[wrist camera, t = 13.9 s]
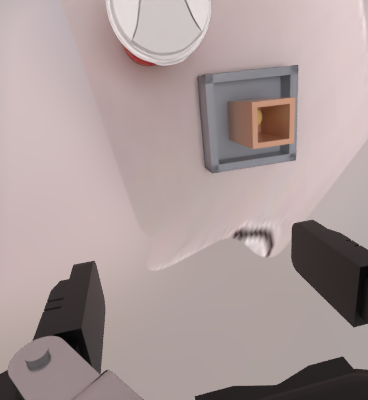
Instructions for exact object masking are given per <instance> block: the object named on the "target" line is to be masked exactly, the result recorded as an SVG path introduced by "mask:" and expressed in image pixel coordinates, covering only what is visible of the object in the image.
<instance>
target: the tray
mask: <svg viewBox="0 0 368 400" xmlns="http://www.w3.org/2000/svg"><path fill="white" fill-rule="evenodd" d="M198 88H199V100H200V112H201V124H202V136H203V148H204V160H205V168H206V169H208V170H209V171H210V172H211V173H217V172H223V171H230V170H236V169H242V168H249V167H255V166H261V165H268V164H274V163H281V162H287V161H293V160H296V137H297V93H298V65H294V66H284V67H275V68H265V69H256V70H246V71H237V72H227V73H218V74H208V75H202V76H199V77H198ZM270 97H295V128H294V143H292V144H285V145H278V146H271V147H264V148H257V149H251V148H249V147H246V146H244V145H241V144H238V143H236V142H233V141H230V140H229V129H228V109H227V102H229V101H238V100H246V99H255V98H270Z"/></svg>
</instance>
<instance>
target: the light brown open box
mask: <svg viewBox="0 0 368 400" xmlns="http://www.w3.org/2000/svg"><path fill="white" fill-rule="evenodd" d="M257 108H258V109H259V110H260V111H261V113H262V121H261V123H260V124H259V126H258V116H257ZM227 109H228V129H229V140H230V141H233V142H236V143H238V144H241V145H244V146H246V147H249V148H251V149H257V148H264V147H271V146H278V145H285V144H292V143H294V128H295V97H270V98H255V99H246V100H238V101H229V102H227Z"/></svg>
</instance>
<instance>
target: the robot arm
mask: <svg viewBox="0 0 368 400" xmlns="http://www.w3.org/2000/svg"><path fill="white" fill-rule="evenodd" d="M291 251H292V253H291V258H292V263H293V266H294V268H295V270H296V271H297V272H298V273H299V274H300V275H301V276H302V277H303V278H304V279H305V280H306V281H307V282H308V283H309V284H310V285H311V286H312V287H313V288H315V290H316V291H317V292H318V293H319V294H320V295H321V296H322V297H324V299H325V300H326V301H327V302H328V303H329V304H330V305H332V307H334V309H336V310H337V311H338V312H339V313H340V314H341V315H342V316H343V317H344V318H345V319H346V320H347V321H348V322H349V323H350V324H351V325H352V326H353V327H357V326H361V325H364V324H368V250H367V249H366V248H364V247H362V246H359V244H357V243H356V242H354V241H351V240H350V239H349V238H348V237H346V236H344V235H343V234H341V233H339V232H335V231H332V230H329V229H327V228H325V227H324V226H322V225H321V224H319V223H317V222H316V221H314V220H308V221H303V222H298V223H294V224H293V226H292V250H291ZM104 322H105V301H104V295H103V291H102V287H101V283H100V278H99V274H98V270H97V266H96V263H95V261H91V262H86V263H81V264H76V265H73V268H72V272H71V275H70V278H69V279H68V280H63V281H60V282H59V283H58V284H57V285H56V286H55V287H54V288H53V289H52V290H51V292H50V295H49V298H48V301H47V303H46V306H45V309H44V312H43V314H42V317H41V319H40V322H39V325H38V328H37V331H36V333H35V336H34V339H33V341H32V342H30V343H28V344H27V345H25V346H24V347H23V348H21V349H20V350H19V351H18V352H17V353H16V354H15V355H14V357H13V358H12V359H11V361H10V364H9V366H8V370H7V371H5V372H3V373H1V374H0V400H144V399H142V398H141V397H140V396H139V395H138V394H137V393H136V392H135V391H134V390H132V389H131V388H130V387H129V386H128V385H127V384H126V383H125V382H124V381H122V380H121V379H120V378H119V377H118V376H117V375H116V374H115V373H113V372H112V371H109V370H106V371H105V372H103V373H102V374H101V375H100V373H101V359H102V348H103V335H104ZM195 400H368V370H363V369H353V368H352V367H351V366H350V364H349V363H348V362H347V361H346V360H345V359H344V357H340V358H335V359H332V360H328V361H324V362H321V363H317V364H313V365H310V366H307V367H306V368H304V369H303V370H301V371H299V372H298V373H296V374H295V375H293V376H291V377H290V378H288V379H286V380H285V381H283V382H282V383H280V384H278V385H271V386H270V385H269V386H232V387H228V388H225V389H221V390H217V391H213V392H210V393H206V394H203V395H199V396H195Z"/></svg>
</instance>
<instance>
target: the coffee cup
mask: <svg viewBox="0 0 368 400" xmlns="http://www.w3.org/2000/svg"><path fill="white" fill-rule="evenodd" d="M106 8H107V14H108V17H109V21H110V24H111V26H112V28H113V31H114V32H115V34H116V36H117V37H118V39H119V40H120V42H121V43H122V45H123V48H124V50H125V51H126V53H127V54H128V56H129V57H130V58H131V59H132V60H134V61H135V62H137V63H139V64H141V65H146V66H152V65H156V64H157V65H160V66H168V65H173V64H177V63H179V62H182V61H184V60H185V59H186V58H187V57H188V56H189V55H190V54H191V53H192V52H193V51H194V50H195V49H196V48H197V47H198V46H199V44H200V43H201V42H202V40H203V38H204V36H205V34H206V32H207V29H208V26H209V22H210V17H211V0H106Z"/></svg>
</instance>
